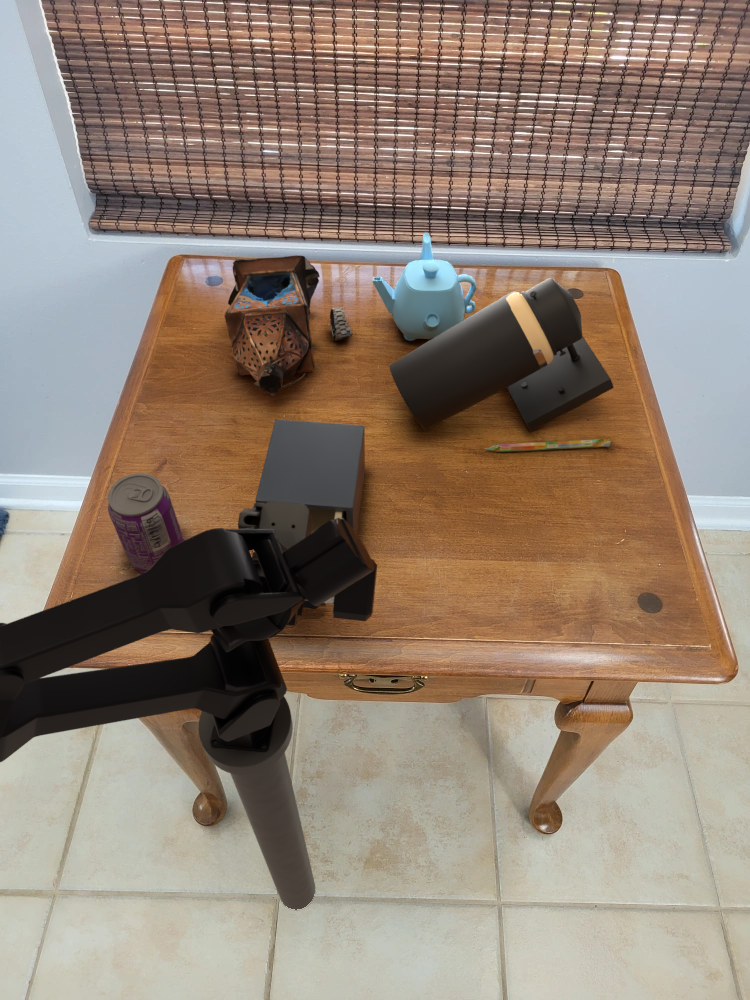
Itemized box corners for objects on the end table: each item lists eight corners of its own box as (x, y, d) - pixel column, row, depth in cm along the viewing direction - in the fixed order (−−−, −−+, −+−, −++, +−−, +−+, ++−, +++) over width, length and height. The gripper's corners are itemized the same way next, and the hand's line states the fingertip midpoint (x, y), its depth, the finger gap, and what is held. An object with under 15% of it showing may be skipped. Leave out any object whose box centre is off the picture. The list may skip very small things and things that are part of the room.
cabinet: (354, 554, 97) (352, 507, 90) (263, 547, 98) (255, 500, 90) (364, 474, 106) (364, 425, 98) (281, 468, 106) (275, 418, 99)
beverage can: (192, 533, 99) (173, 472, 90) (177, 579, 95) (156, 520, 85) (138, 528, 100) (114, 467, 90) (121, 574, 95) (95, 515, 86)
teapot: (363, 321, 127) (363, 261, 118) (422, 287, 133) (426, 228, 124) (428, 367, 120) (433, 307, 111) (488, 330, 126) (497, 270, 117)
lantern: (273, 343, 133) (274, 443, 116) (199, 284, 123) (189, 383, 106) (342, 285, 126) (354, 383, 109) (270, 218, 116) (271, 313, 99)
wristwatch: (330, 343, 125) (336, 338, 121) (327, 311, 125) (333, 305, 120) (349, 342, 126) (355, 337, 121) (346, 310, 126) (352, 304, 121)
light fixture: (379, 344, 109) (544, 246, 103) (428, 413, 122) (577, 330, 116) (403, 407, 101) (584, 305, 95) (453, 473, 114) (614, 387, 108)
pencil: (484, 455, 108) (609, 448, 109) (485, 449, 107) (611, 443, 108) (482, 448, 109) (607, 442, 110) (483, 442, 108) (609, 436, 109)
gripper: (376, 522, 71) (386, 504, 86) (179, 501, 72) (224, 487, 88) (365, 639, 72) (377, 601, 88) (171, 616, 73) (216, 583, 89)
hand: (298, 566), depth 88 cm, fingers closed
